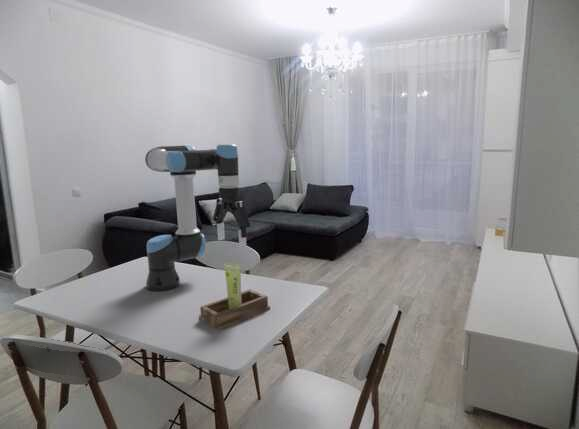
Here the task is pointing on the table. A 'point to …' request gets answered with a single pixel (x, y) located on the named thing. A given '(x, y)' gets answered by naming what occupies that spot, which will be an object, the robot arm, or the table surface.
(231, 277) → the tube
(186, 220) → the robot arm
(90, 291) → the table surface
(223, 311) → the tray
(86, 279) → the table surface
